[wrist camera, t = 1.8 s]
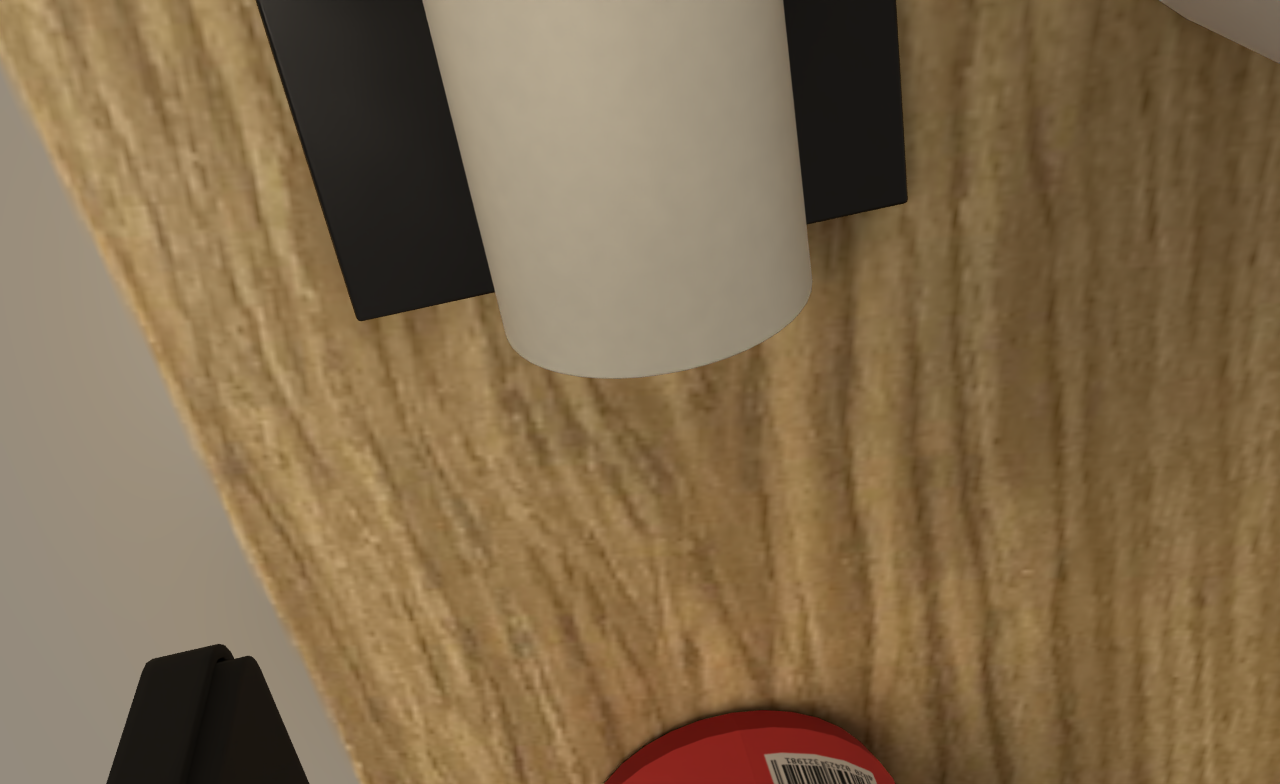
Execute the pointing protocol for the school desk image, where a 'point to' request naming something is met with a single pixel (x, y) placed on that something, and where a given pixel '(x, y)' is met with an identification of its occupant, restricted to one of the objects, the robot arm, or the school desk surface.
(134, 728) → the robot arm
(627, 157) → the towel roll
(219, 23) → the school desk surface
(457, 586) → the school desk surface
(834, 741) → the canned food
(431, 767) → the school desk surface
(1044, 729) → the school desk surface
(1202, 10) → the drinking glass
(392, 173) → the thin black tile
